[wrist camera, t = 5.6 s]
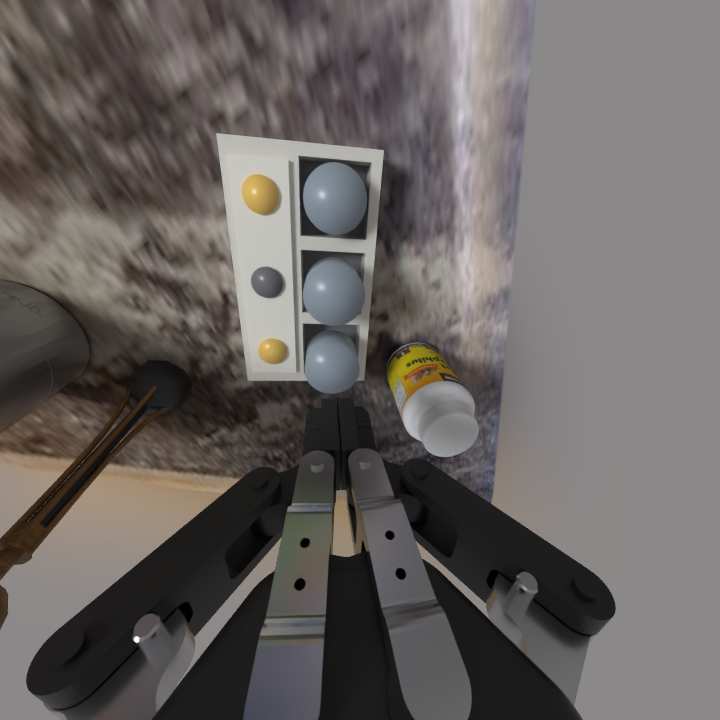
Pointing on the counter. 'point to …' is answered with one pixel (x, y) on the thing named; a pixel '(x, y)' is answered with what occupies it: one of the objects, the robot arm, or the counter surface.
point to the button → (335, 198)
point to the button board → (311, 236)
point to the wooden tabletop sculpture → (93, 462)
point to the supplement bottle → (432, 400)
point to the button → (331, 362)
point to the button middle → (333, 292)
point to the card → (265, 258)
